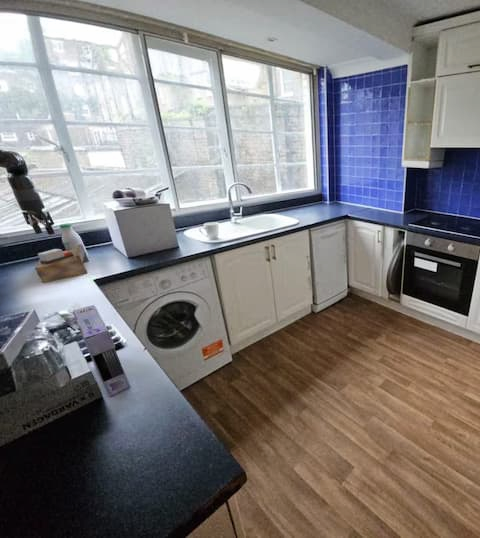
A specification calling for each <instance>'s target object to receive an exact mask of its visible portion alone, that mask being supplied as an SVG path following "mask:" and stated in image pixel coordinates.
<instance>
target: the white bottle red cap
mask: <svg viewBox="0 0 480 538" xmlns="http://www.w3.org/2000/svg"><path fill="white" fill-rule="evenodd" d="M63 251H64V252H63ZM37 256H38V258H39V260H41V261H40V263H42V264H49V263H53V262H56V261H59V260H62V259H65V258H69V257H72V256H74V255H73V254H72V252H70V251H66V250H63V249H60V248H53V249H49V250H45V251H42V252H39V253H37Z"/></svg>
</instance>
